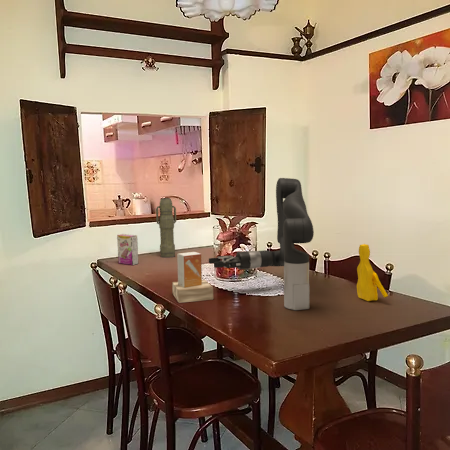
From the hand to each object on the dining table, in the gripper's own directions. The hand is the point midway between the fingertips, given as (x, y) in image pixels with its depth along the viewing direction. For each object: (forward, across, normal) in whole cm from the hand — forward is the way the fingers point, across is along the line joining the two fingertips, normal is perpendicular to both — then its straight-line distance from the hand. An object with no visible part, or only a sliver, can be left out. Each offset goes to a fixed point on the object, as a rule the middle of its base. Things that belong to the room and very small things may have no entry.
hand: (211, 262), depth 190 cm
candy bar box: (+27, -78, +14) cm, 83 cm away
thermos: (+3, -91, +13) cm, 92 cm away
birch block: (+8, 0, +13) cm, 16 cm away
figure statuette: (-55, +28, +14) cm, 64 cm away
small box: (+9, 0, +9) cm, 13 cm away
